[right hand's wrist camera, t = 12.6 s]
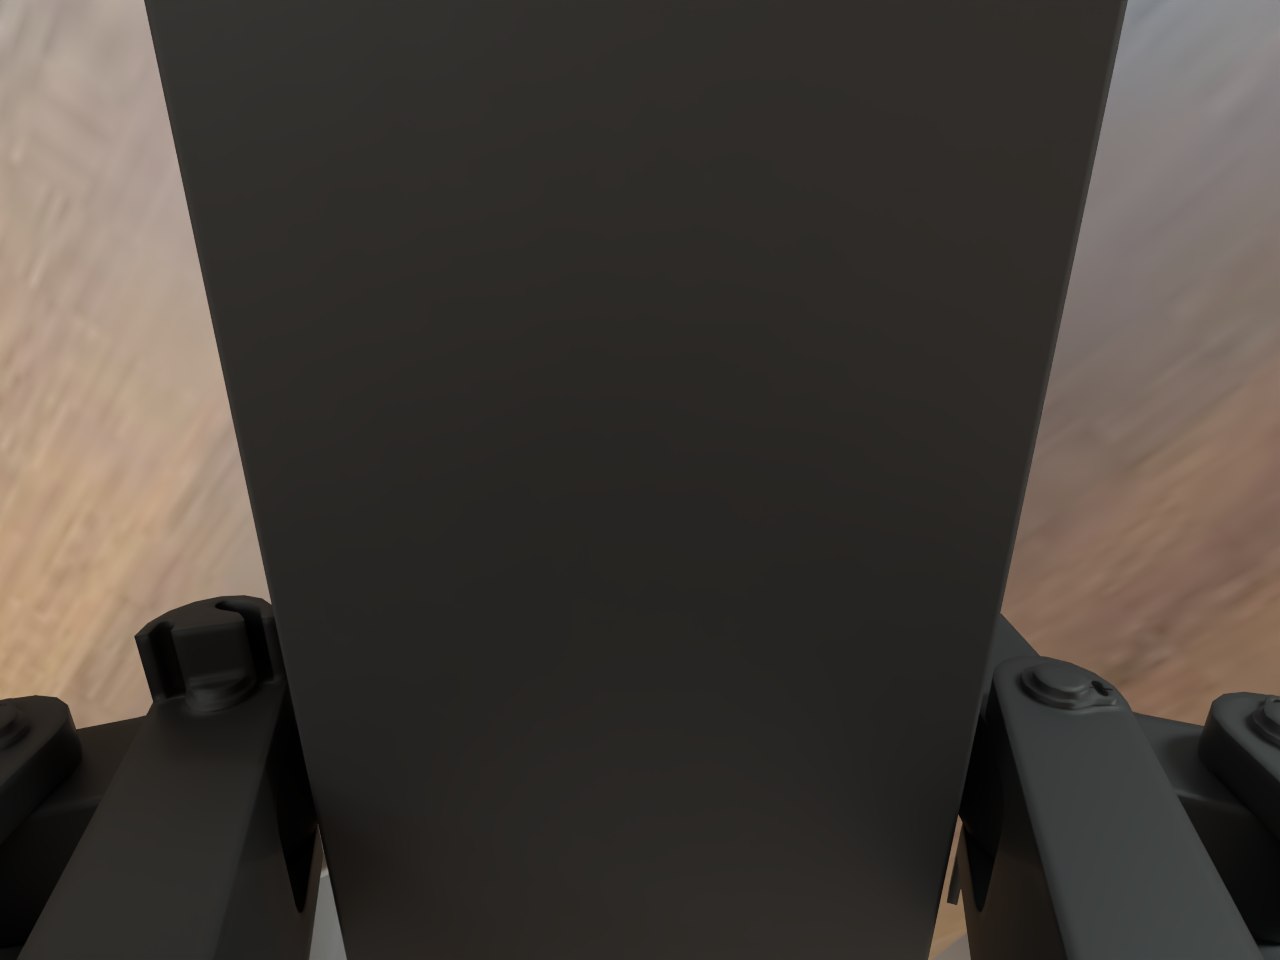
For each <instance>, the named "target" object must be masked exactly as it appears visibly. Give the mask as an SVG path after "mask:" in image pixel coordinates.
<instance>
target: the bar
mask: <svg viewBox="0 0 1280 960" xmlns="http://www.w3.org/2000/svg"><path fill="white" fill-rule="evenodd" d="M1127 1H1128V0H144V2H145V6H146V11H147V16H148V21H149V25H150V30H151V35H152V39H153V44H154V49H155V54H156V58H157V63H158V68H159V73H160V77H161V82H162V87H163V92H164V96H165V101H166V106H167V111H168V115H169V120H170V125H171V129H172V134H173V139H174V144H175V148H176V153H177V158H178V163H179V167H180V172H181V177H182V182H183V186H184V191H185V196H186V200H187V205H188V210H189V215H190V219H191V224H192V229H193V234H194V238H195V243H196V248H197V253H198V257H199V262H200V267H201V272H202V276H203V281H204V286H205V290H206V295H207V300H208V305H209V309H210V314H211V319H212V324H213V328H214V333H215V338H216V343H217V347H218V352H219V357H220V361H221V366H222V371H223V376H224V380H225V385H226V390H227V395H228V399H229V404H230V409H231V414H232V418H233V423H234V428H235V433H236V437H237V442H238V447H239V451H240V456H241V461H242V466H243V470H244V475H245V480H246V485H247V489H248V494H249V499H250V504H251V508H252V513H253V518H254V522H255V527H256V532H257V537H258V541H259V546H260V551H261V556H262V560H263V565H264V570H265V575H266V579H267V584H268V589H269V594H270V598H271V603H272V608H273V612H274V617H275V622H276V627H277V631H278V636H279V641H280V646H281V650H282V655H283V660H284V665H285V669H286V674H287V679H288V684H289V688H290V693H291V698H292V702H293V707H294V712H295V717H296V721H297V726H298V731H299V736H300V740H301V745H302V750H303V755H304V759H305V764H306V769H307V773H308V778H309V783H310V788H311V792H312V797H313V802H314V807H315V811H316V816H317V821H318V826H319V830H320V835H321V840H322V845H323V849H324V854H325V859H326V863H327V868H328V873H329V878H330V882H331V887H332V892H333V897H334V901H335V906H336V911H337V916H338V920H339V925H340V930H341V934H342V939H343V944H344V949H345V953H346V958H347V960H928V957H929V952H930V947H931V942H932V938H933V933H934V928H935V923H936V918H937V914H938V909H939V904H940V899H941V894H942V890H943V885H944V880H945V875H946V870H947V866H948V861H949V856H950V851H951V846H952V842H953V837H954V832H955V827H956V822H957V817H958V813H959V808H960V803H961V798H962V793H963V789H964V784H965V779H966V774H967V769H968V765H969V760H970V755H971V750H972V745H973V741H974V736H975V731H976V726H977V721H978V717H979V712H980V707H981V702H982V697H983V693H984V688H985V683H986V678H987V673H988V669H989V664H990V659H991V654H992V649H993V645H994V640H995V635H996V630H997V625H998V621H999V616H1000V611H1001V606H1002V601H1003V597H1004V592H1005V587H1006V582H1007V577H1008V573H1009V568H1010V563H1011V558H1012V553H1013V548H1014V544H1015V539H1016V534H1017V529H1018V524H1019V520H1020V515H1021V510H1022V505H1023V500H1024V496H1025V491H1026V486H1027V481H1028V476H1029V472H1030V467H1031V462H1032V457H1033V452H1034V448H1035V443H1036V438H1037V433H1038V428H1039V424H1040V419H1041V414H1042V409H1043V404H1044V400H1045V395H1046V390H1047V385H1048V380H1049V376H1050V371H1051V366H1052V361H1053V356H1054V352H1055V347H1056V342H1057V337H1058V332H1059V328H1060V323H1061V318H1062V313H1063V308H1064V304H1065V299H1066V294H1067V289H1068V284H1069V279H1070V275H1071V270H1072V265H1073V260H1074V255H1075V251H1076V246H1077V241H1078V236H1079V231H1080V227H1081V222H1082V217H1083V212H1084V207H1085V203H1086V198H1087V193H1088V188H1089V183H1090V179H1091V174H1092V169H1093V164H1094V159H1095V155H1096V150H1097V145H1098V140H1099V135H1100V131H1101V126H1102V121H1103V116H1104V111H1105V107H1106V102H1107V97H1108V92H1109V87H1110V83H1111V78H1112V73H1113V68H1114V63H1115V59H1116V54H1117V49H1118V44H1119V39H1120V35H1121V30H1122V25H1123V20H1124V15H1125V10H1126V6H1127Z"/></svg>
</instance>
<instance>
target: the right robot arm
mask: <svg viewBox="0 0 1280 960" xmlns="http://www.w3.org/2000/svg"><path fill="white" fill-rule="evenodd" d="M134 637H135V640H136V644H137V647H138V651H139V654H140V657H141V661H142V664H143V668H144V671H145V675H146V678H147V682H148V685H149V689H150V692H151V695H152V699H153V704H152V705H151V707H150V709H149V711H148V713H147V715H146V716H142V717H138V718H133V719H128V720H123V721H118V722H112V723H107V724H102V725H97V726H92V727H87V728H82V729H76V728H75V725H74V722H73V719H72V716H71V713H70V710H69V707H68V705H67V704H66V703H64V702H63V701H61V700H60V699H58V698H57V697H48V696H37V695H35V696H27V697H20V698H13V699H12V698H9V699H4V700H0V960H347V958H346V953H345V949H344V944H343V939H342V934H341V930H340V925H339V920H338V916H337V911H336V906H335V901H334V897H333V892H332V887H331V882H330V878H329V873H328V868H327V863H326V859H325V854H324V853H323V850H322V843H321V837H320V832H319V827H318V821H317V816H316V811H315V807H314V802H313V797H312V792H311V788H310V783H309V778H308V773H307V769H306V764H305V759H304V755H303V750H302V745H301V740H300V736H299V731H298V726H297V721H296V717H295V712H294V707H293V702H292V698H291V693H290V688H289V684H288V679H287V674H286V669H285V665H284V660H283V655H282V650H281V646H280V641H279V636H278V631H277V627H276V622H275V617H274V612H273V608H272V605H271V604H269V603H268V602H267V601H265V600H264V599H262V598H256V597H251V596H245V595H241V596H221V597H216V598H211V599H206V600H201V601H196V602H193V603H190V604H187V605H185V606H182V607H179V608H176V609H174V610H171V611H168V612H167V613H165V614H163V615H161V616H160V617H158V618H156V619H154V620H152V621H151V622H149V623H148V624H146V625H145V626H144V627H143V628H142V629H141V630H140V631H139V632H138V633H137V634H136V635H135V636H134ZM958 814H959V816H960V818H961V820H962V822H963V823H962V827H961V832H960V837H959V842H958V847H957V852H956V856H955V861H954V866H953V871H952V876H951V881H950V885H949V892H948V899H947V903H951V904H955V905H957V903H958V898H959V893H960V889H962V897H963V904H964V911H965V919H966V926H967V933H968V941H969V948H970V956H971V960H1280V697H1279V696H1275V695H1264V694H1256V693H1249V692H1239V693H1228V694H1223V695H1222V696H1220V697H1219V698H1217V699H1216V700H1214V701H1213V702H1212V705H1211V708H1210V711H1209V714H1208V717H1207V720H1206V723H1205V726H1200V725H1195V724H1190V723H1185V722H1179V721H1174V720H1169V719H1164V718H1159V717H1153V716H1148V715H1143V714H1139V713H1135V712H1132V710H1131V708H1130V706H1129V704H1128V702H1127V701H1126V700H1125V698H1124V697H1123V696H1122V695H1121V694H1120V692H1119V691H1118V690H1117V689H1116V688H1115V687H1114V686H1113V685H1112V684H1110V683H1109V682H1107V681H1106V680H1104V679H1103V678H1101V677H1100V676H1098V675H1097V674H1095V673H1093V672H1091V671H1088V670H1086V669H1084V668H1081V667H1079V666H1077V665H1074V664H1072V663H1069V662H1065V661H1061V660H1057V659H1053V658H1049V657H1042V656H1040V655H1039V654H1038V653H1037V652H1036V651H1035V650H1034V649H1033V648H1032V647H1031V646H1030V645H1029V643H1028V642H1027V641H1026V640H1025V639H1024V638H1023V637H1022V636H1021V635H1020V634H1019V633H1018V631H1017V630H1016V629H1015V628H1014V627H1013V626H1012V625H1011V624H1010V623H1009V622H1008V621H1007V619H1006V618H1005V617H1004V616H1003V615H1002V614H1000V616H999V621H998V625H997V630H996V635H995V640H994V645H993V649H992V654H991V659H990V664H989V669H988V673H987V678H986V683H985V688H984V693H983V697H982V702H981V707H980V712H979V717H978V721H977V726H976V731H975V736H974V741H973V745H972V750H971V755H970V760H969V765H968V769H967V774H966V779H965V784H964V789H963V793H962V798H961V803H960V808H959V813H958Z"/></svg>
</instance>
